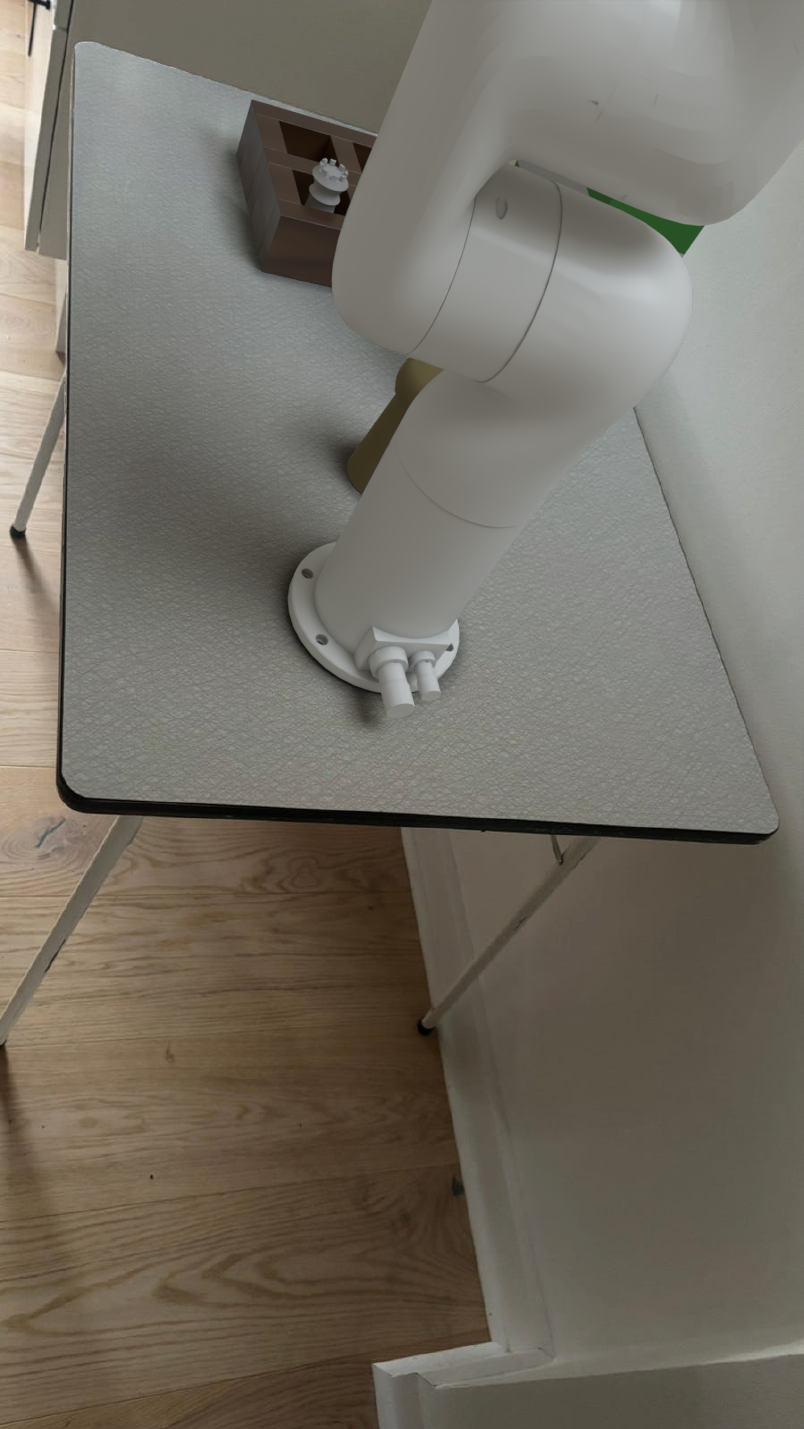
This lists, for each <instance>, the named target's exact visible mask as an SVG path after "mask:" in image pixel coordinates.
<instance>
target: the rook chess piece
mask: <svg viewBox="0 0 804 1429" xmlns="http://www.w3.org/2000/svg"><path fill="white" fill-rule="evenodd" d="M327 161H328V160H327V159H326V158H324V159H322V161H320V164H319V165H318V166H316V167H314V169H313V170H312V171H313V177H314V180H315V181H314V184H312V185H311V186H310V187H309V191H310V194H309V197H308V199H307V201H306V203H305V205H304V206H307V207H311V208H315V209H319V210H323V211H327V212H331V213H333V212H334V209H335V207H336V205H338V204H339V202H340V198H339V195H340V193H342V192H344V191H345V190H347V188H348V181H347V177H348V171H344V170H345V168H346V167H344V166H343V165H342V164H340V166H339V168H338V167H336V166H335V163H336V160H333V159H331V160H330V162H329V164H327Z"/></svg>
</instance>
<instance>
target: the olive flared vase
mask: <svg viewBox="0 0 804 1429" xmlns="http://www.w3.org/2000/svg"><path fill="white" fill-rule="evenodd" d="M443 370H444V369H441V368H439V367H436V366H433V365H430V364H427V363H424V362H421V361H418V360H415V359H413V358H410V357H408V358H407V359H406V360H405V362H403V363H402V365H401V367H400V368H399V370H398V372H397V374H396V376H395V382H394V395H393V397H392V398H391V399H390V401H389V402H388V403H387V405H386V406H385V408H384V409H383V411H382V412H381V413H380V415H379V416H378V418H377V419H376V420H375V422H374V423H373V424H372V426H371V427H370V428H369V430H368V432H366V434H365V436H364V437H363V438H362V440H361V441H360V442H359V444H358V445H357V447H356V448H355V449H354V451H353V452H352V454H351V455H350V457H349V458H348V460H347V461H346V473H347V477H348V480H349V481H350V482H351V484H352V485H353V487H354V488H355V489H356V491H358V492H359V493H360V494H361V495H362V494H363V492H364V490H365V488H366V486H367V485H368V483H369V481H370V479H371V477H372V475H373V473H374V471H375V469H376V468H377V466H378V464H379V462H380V460H381V458H382V456H383V454H384V452H385V450H386V449H387V447H388V445H389V443H390V441H391V439H392V437H393V435H394V434H395V432H396V430H397V428H398V427H399V424H400V423H401V421H402V419H403V417H404V415H405V413H406V412H407V410H408V408H409V406H410V405H411V403H412V402H413V400H414V399H415V398H416V396H417V395H418V394H419V393H420V391H421V390H422V389H423V388H424V387H425V386H426V385H427V384H428V383H429V382H430V381H431V380H432V379H433V378H434V377H436V376H437V375H438V374H439V373H440V372H442V371H443Z"/></svg>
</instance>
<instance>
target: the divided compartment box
mask: <svg viewBox="0 0 804 1429" xmlns="http://www.w3.org/2000/svg"><path fill="white" fill-rule="evenodd" d="M377 136H378V135H377ZM377 136H376V135H373V134H370V133H367V132H363V131H360V130H356V129H354V128H353V129H352V128H350V127H347V126H343V125H339V124H336V123H333V122H330V121H327V120H323V119H320V118H317V117H313V116H309V115H307V114H303V113H300V112H297V111H293V110H290V109H286V108H284V107H283V108H282V107H280V106H277V105H273V104H270V103H266V102H263V101H260V100H257V99H253V98H252V99H251V100H250V103H249V106H248V111H247V114H246V117H245V121H244V124H243V128H242V132H241V136H240V139H239V142H238V146H237V149H236V153H235V160H236V164H237V168H238V173H239V177H240V181H241V185H242V190H243V194H244V198H245V199H244V200H245V203H246V207H247V211H248V215H249V220H250V225H251V230H252V233H253V237H254V241H255V248H256V251H257V255H258V259H259V262H260V263H259V264H260V268H261V272H263V273H268V274H271V275H276V276H281V277H286V278H289V279H290V278H291V279H295V280H298V281H304V282H308V283H312V284H317V285H321V286H325V287H326V286H327V287H330V288H332V270H333V262H334V257H335V252H336V247H337V242H338V239H339V235H340V232H341V229H342V226H343V222H344V219H345V216H346V214H347V211H348V208H349V206H350V203H351V200H352V198H353V195H354V193H355V190H356V187H357V185H358V182H359V179H360V177H361V175H362V172H363V170H364V167H365V165H366V162H367V160H368V158H369V155H370V153H371V150H372V148H373V145H374V143H375V141H376V138H377ZM324 158H326V159H327V160H328V161H327V164H329V162H330V160H331V159H333V160H336V163H335V166H336V167H338V168H339V166H340V164H342V165H343V166H344V167H346V168H345V170H344V171H348V177H347V181H348V188H347V190H345V191H344V192H342V193H340V195H339V198H340V202H339V204H338V205H336V207H335V209H334V212H333V213H331V212H327V211H323V210H319V209H315V208H311V207H307V206H304V205H305V203H306V201H307V199H308V197H309V194H310V191H309V187H310V186H311V185H312V184H314V181H315V180H314V177H313V171H312V170H313V169H314V167H316V166H318V165H319V164H320V161H322V159H324Z"/></svg>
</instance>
